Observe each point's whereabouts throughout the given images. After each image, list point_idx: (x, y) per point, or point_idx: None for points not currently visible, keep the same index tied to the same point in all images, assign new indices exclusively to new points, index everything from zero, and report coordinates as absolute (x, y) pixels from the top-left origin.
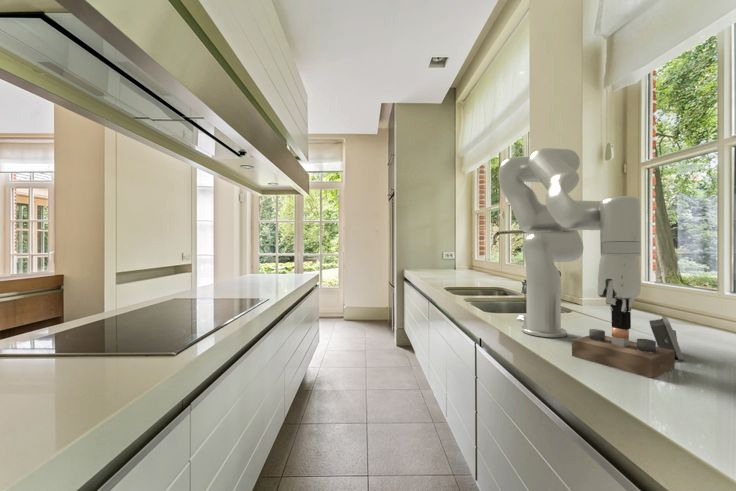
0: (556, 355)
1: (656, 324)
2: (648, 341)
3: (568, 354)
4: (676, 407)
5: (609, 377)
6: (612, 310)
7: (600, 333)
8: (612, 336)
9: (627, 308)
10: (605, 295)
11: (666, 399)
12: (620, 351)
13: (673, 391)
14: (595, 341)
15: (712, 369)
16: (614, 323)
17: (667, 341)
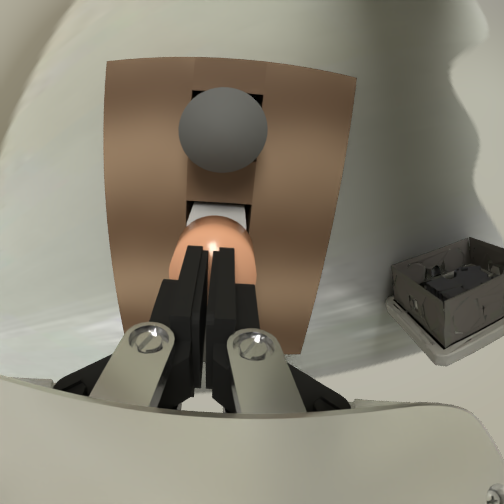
0: (90, 40)
1: (463, 313)
2: (205, 349)
3: (141, 50)
4: (45, 354)
5: (48, 246)
6: (139, 333)
7: (193, 161)
8: (187, 225)
9: (224, 408)
10: (81, 411)
11: (56, 343)
12: (113, 269)
13: (104, 345)
14: (172, 139)
15: (355, 352)
16: (164, 280)
17: (416, 308)
